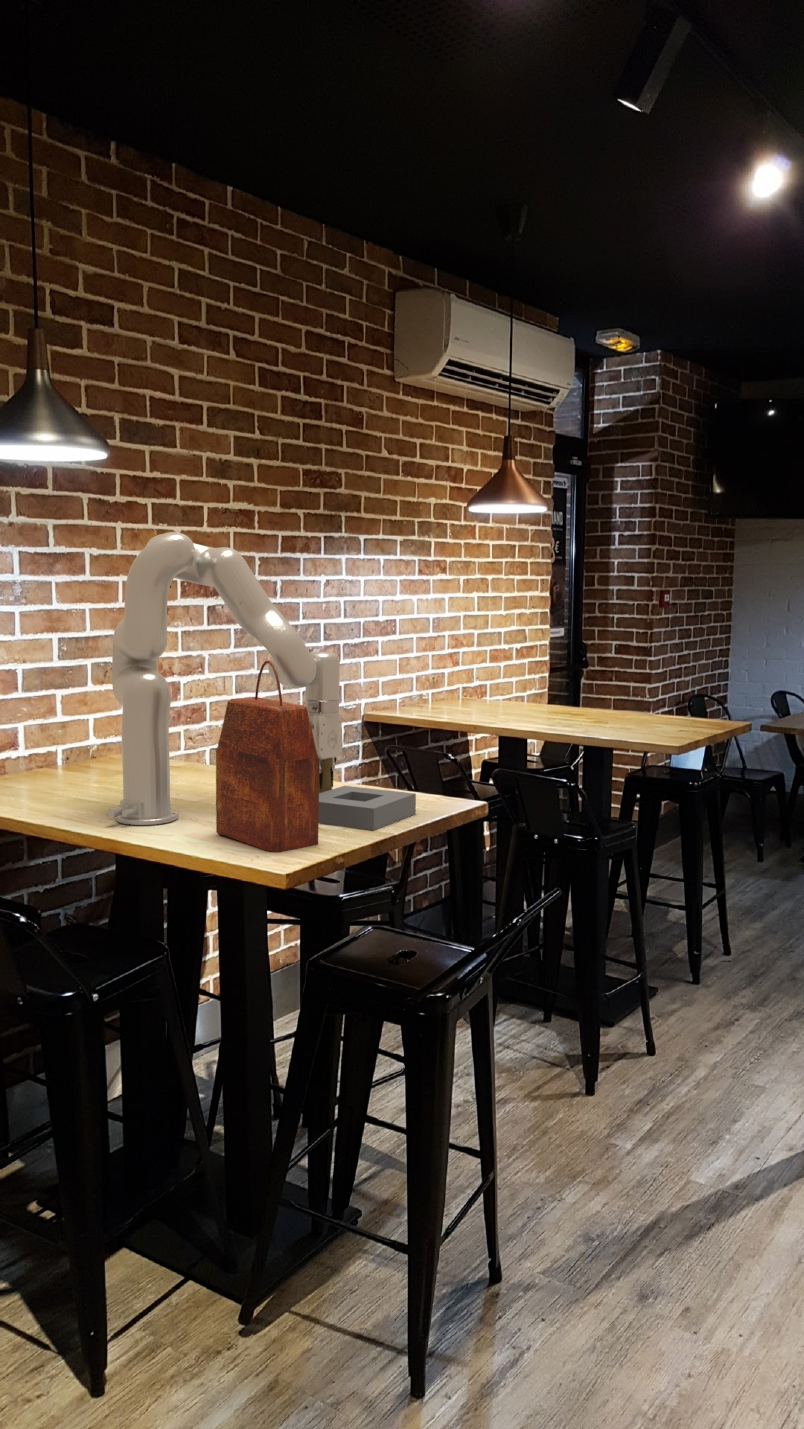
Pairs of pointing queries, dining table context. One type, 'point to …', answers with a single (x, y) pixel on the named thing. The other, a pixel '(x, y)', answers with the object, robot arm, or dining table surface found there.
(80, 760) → the dining table surface
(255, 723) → the handbag
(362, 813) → the well block
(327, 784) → the cork
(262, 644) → the robot arm
